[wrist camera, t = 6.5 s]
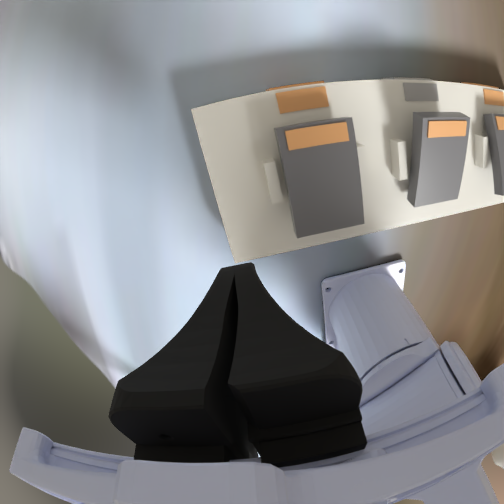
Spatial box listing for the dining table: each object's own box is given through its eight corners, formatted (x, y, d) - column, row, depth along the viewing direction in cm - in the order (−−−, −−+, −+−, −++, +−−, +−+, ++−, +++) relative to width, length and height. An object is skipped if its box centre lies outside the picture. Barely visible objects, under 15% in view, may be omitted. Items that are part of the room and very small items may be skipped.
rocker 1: (358, 217, 16) (365, 224, 15) (294, 231, 16) (297, 239, 16) (345, 116, 14) (352, 117, 13) (273, 127, 14) (276, 128, 13)
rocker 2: (449, 191, 16) (458, 199, 15) (406, 199, 17) (414, 208, 16) (460, 112, 12) (471, 118, 11) (412, 112, 13) (423, 118, 12)
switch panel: (505, 186, 20) (531, 201, 16) (234, 241, 21) (235, 271, 18) (505, 89, 14) (534, 95, 11) (197, 105, 16) (187, 107, 13)
